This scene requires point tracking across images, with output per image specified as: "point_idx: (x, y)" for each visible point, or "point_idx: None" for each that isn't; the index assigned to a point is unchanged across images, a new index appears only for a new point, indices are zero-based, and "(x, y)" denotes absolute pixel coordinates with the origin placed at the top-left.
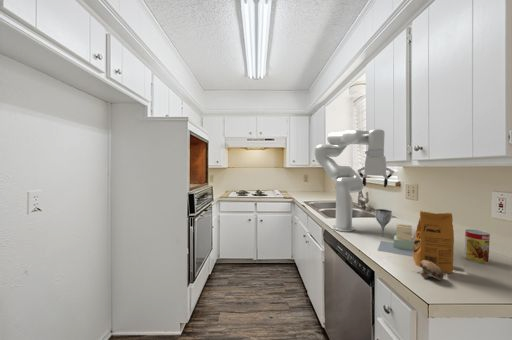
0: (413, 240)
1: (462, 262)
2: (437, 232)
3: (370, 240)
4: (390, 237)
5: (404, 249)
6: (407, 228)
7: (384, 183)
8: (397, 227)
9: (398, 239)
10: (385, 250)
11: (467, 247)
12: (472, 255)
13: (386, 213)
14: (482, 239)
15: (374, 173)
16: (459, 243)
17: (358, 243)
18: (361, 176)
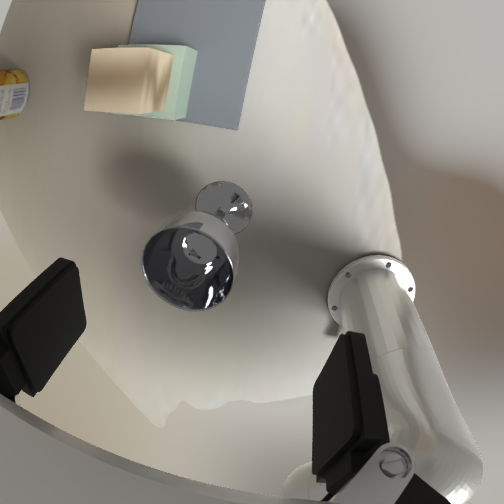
0: None
1: (42, 45)
2: None
3: (279, 149)
4: None
5: None
6: (109, 48)
7: (44, 290)
8: (148, 48)
9: (167, 50)
10: (234, 1)
11: (4, 81)
12: (12, 72)
13: (172, 223)
14: None
15: (97, 498)
16: (27, 233)
17: (335, 86)
18: (416, 481)
